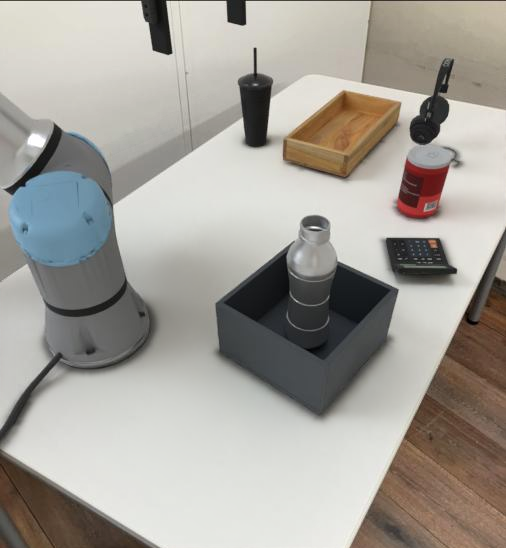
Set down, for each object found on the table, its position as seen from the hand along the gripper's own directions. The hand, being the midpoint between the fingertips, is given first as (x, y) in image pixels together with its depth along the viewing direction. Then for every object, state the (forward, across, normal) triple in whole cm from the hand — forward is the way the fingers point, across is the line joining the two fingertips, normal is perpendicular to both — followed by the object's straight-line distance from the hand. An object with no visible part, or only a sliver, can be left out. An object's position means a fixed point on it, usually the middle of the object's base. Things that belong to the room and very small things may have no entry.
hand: (201, 37), depth 65 cm
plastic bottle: (+34, +7, +24) cm, 42 cm away
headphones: (+35, -54, +14) cm, 66 cm away
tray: (+35, -49, -6) cm, 60 cm away
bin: (+35, +8, +24) cm, 43 cm away
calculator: (+35, -20, +28) cm, 49 cm away
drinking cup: (+35, -37, -22) cm, 55 cm away
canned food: (+35, -35, +20) cm, 53 cm away
